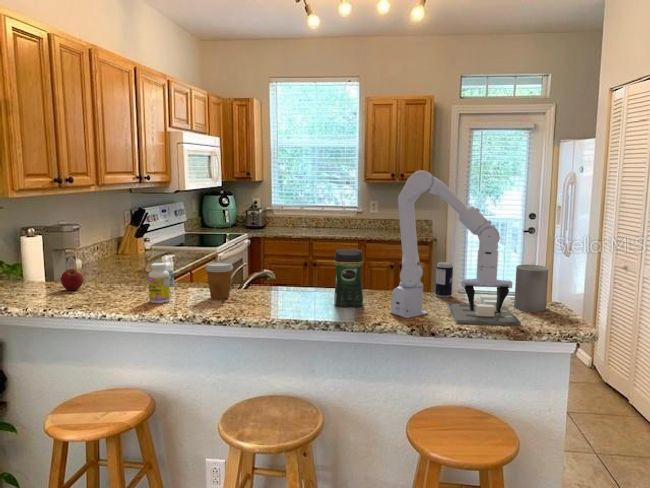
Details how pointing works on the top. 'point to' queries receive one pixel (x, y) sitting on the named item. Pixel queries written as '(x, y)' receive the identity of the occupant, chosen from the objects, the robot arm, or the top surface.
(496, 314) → the breaker panel
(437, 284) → the beverage can
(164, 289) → the supplement bottle
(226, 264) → the disposable coffee cup
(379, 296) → the top surface
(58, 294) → the top surface
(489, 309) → the handle
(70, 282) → the apple
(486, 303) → the handle middle
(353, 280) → the coffee jar
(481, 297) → the handle far
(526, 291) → the pillar candle
